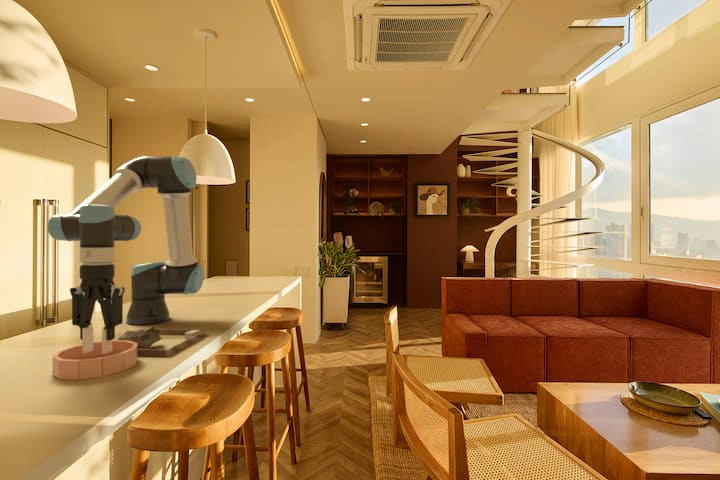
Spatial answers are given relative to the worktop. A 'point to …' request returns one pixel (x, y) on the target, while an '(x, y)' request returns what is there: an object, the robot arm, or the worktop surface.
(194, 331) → the beige rectangular block
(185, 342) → the tray
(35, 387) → the worktop surface
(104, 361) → the bowl
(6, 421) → the worktop surface
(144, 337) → the rock
